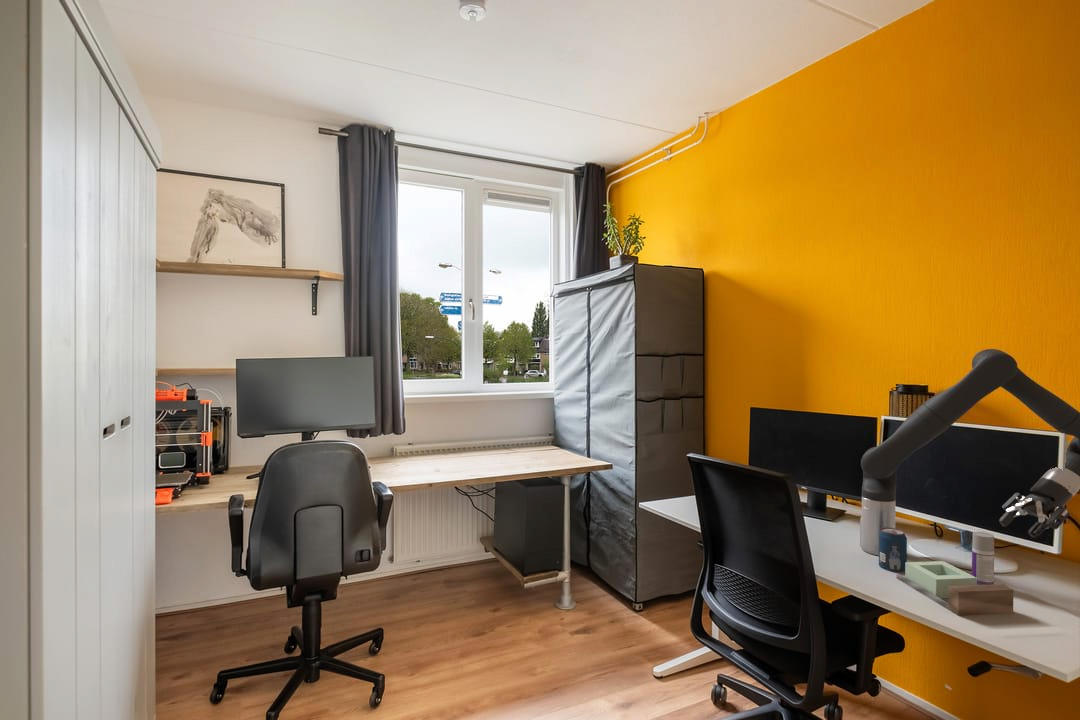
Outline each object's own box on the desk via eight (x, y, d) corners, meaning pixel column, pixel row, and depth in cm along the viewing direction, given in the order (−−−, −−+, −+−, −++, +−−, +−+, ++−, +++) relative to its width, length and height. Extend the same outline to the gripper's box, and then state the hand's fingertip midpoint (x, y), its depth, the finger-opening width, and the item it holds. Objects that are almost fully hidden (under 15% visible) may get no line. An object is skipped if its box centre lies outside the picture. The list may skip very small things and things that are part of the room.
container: (971, 583, 152) (972, 530, 152) (993, 588, 150) (994, 533, 149) (971, 589, 149) (972, 534, 148) (993, 594, 146) (994, 538, 145)
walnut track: (896, 581, 154) (896, 557, 154) (943, 580, 155) (944, 555, 155) (963, 623, 131) (964, 594, 131) (1019, 621, 132) (1020, 592, 132)
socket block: (905, 580, 153) (905, 562, 152) (943, 578, 153) (943, 561, 153) (935, 598, 142) (936, 579, 141) (976, 596, 142) (976, 577, 142)
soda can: (893, 565, 165) (893, 526, 165) (912, 575, 158) (913, 533, 158) (873, 567, 164) (873, 527, 164) (891, 577, 157) (891, 535, 157)
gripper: (1023, 471, 156) (984, 512, 156) (1074, 484, 142) (1032, 529, 142) (1040, 489, 157) (1001, 530, 157) (1093, 503, 143) (1051, 548, 142)
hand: (1016, 529), depth 149 cm, fingers open, 8 cm apart
